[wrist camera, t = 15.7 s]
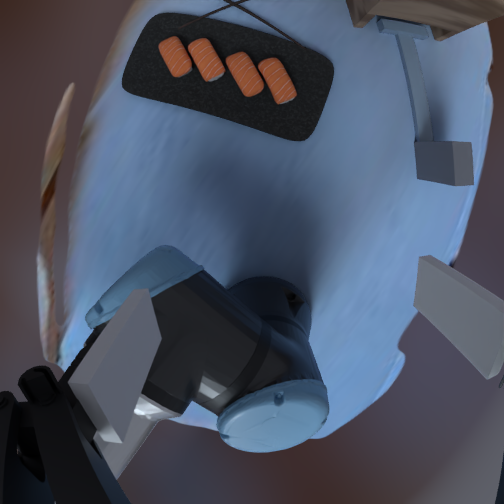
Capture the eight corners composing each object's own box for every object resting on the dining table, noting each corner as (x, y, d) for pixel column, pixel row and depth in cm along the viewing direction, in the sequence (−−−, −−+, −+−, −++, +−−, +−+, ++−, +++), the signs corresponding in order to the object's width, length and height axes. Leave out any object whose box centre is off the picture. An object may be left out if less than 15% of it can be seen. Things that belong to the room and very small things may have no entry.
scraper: (445, 177, 40) (484, 184, 31) (404, 179, 40) (441, 187, 31) (419, 30, 32) (451, 12, 22) (376, 22, 32) (404, -2, 23)
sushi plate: (119, 94, 36) (109, 89, 32) (194, -47, 27) (191, -59, 24) (305, 149, 39) (312, 148, 36) (359, -1, 31) (367, -11, 28)
